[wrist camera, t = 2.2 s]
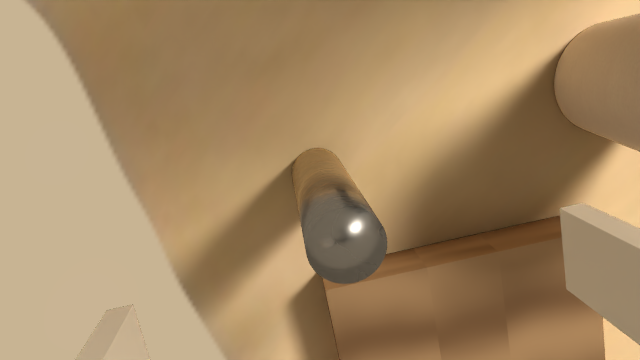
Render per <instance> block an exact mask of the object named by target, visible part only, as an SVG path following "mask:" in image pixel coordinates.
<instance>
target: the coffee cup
mask: <svg viewBox="0 0 640 360" xmlns="http://www.w3.org/2000/svg"><path fill="white" fill-rule="evenodd" d="M554 90H555V96H556V100H557V103H558V105H559V108H560V110H561V111H562V113H563V114H564V116H565V117H566V118H567V119H568V120H569V121H570V122H571V123H573V124H574V125H576V126H577V127H579V128H581V129H584V130H586V131H589V132H591V133H594V134H596V135H599V136H601V137H604V138H606V139H609V140H612V141H614V142H617V143H619V144H622V145H624V146H627V147H629V148H632V149H634V150H637V151H639V152H640V14H636V15H631V16H627V17H623V18H619V19H614V20H610V21H606V22H602V23H598V24H595V25H593V26H591V27H589V28H587V29H585V30H584V31H582V32H581V33H579V34H578V35H577V36H576V37H575V38H574V39H573V40H572V41H571V42H570V43H569V44H568V46H567V47H566V48H565V50H564V52H563V53H562V55H561V57H560V59H559V62H558V65H557V68H556V72H555V79H554Z"/></svg>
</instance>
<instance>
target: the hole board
mask: <svg viewBox="0 0 640 360" xmlns="http://www.w3.org/2000/svg"><path fill="white" fill-rule="evenodd" d="M322 279H323V284H324V289H325V293H326V298H327V303H328V307H329V312H330V317H331V322H332V326H333V331H334V336H335V340H336V345H337V350H338V354H339V359H340V360H605V348H604V332H603V317H602V316H601V315H600V314H598V313H597V312H596V311H594V310H593V309H592V308H590V307H589V306H588V305H587V304H585V303H584V302H583V301H581V300H580V299H579V298H577V297H576V296H575V295H573V294H572V293H571V292H570V291H568V290H567V289H566V279H565V267H564V256H563V244H562V233H561V221H560V216H556V217H552V218H547V219H543V220H538V221H534V222H529V223H525V224H520V225H516V226H511V227H507V228H502V229H498V230H493V231H489V232H484V233H480V234H475V235H471V236H466V237H462V238H457V239H453V240H448V241H444V242H440V243H435V244H431V245H426V246H422V247H417V248H413V249H408V250H404V251H399V252H395V253H390V254H386V255H385V257H384V259H383V262H382V263H381V265H380V266H379V268H378V269H377V270H376V271H375V272H374V273H373V274H372V275H370V276H369V277H367V278H366V279H364V280H361V281H359V282H356V283H351V284H338V283H333V282H331V281H328V280H326V279H324V278H322Z"/></svg>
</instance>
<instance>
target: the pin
mask: <svg viewBox="0 0 640 360" xmlns="http://www.w3.org/2000/svg"><path fill="white" fill-rule="evenodd" d="M292 179H293V184H294V190H295V195H296V200H297V206H298V211H299V216H300V222H301V227H302V232H303V238H304V243H305V249H306V254H307V258H308V261H309V263H310V265H311V266H312V268H313V269H314V270H315V272H316V273H317V274H318V275H320V276H321V277H322V278H324V279H326V280H328V281H331V282H333V283H338V284H351V283H356V282H359V281H361V280H364V279H366V278H367V277H369V276H370V275H372V274H373V273H374V272H375V271H376V270H377V269H378V268H379V266H380V265H381V263H382V262H383V259H384V257H385V254H386V250H387V237H386V233H385V230H384V228H383V226H382V224H381V223H380V221H379V220H378V218H377V217H376V215H375V214H374V212H373V211H372V209H371V207H370V206H369V204H368V203H367V201H366V200H365V198H364V197H363V195H362V194H361V192H360V191H359V189H358V188H357V186H356V185H355V183H354V182H353V180H352V179H351V177H350V176H349V174H348V173H347V171H346V170H345V168H344V167H343V165H342V164H341V162H340V161H339V159H338V158H337V156H336V155H335V154H333V153H332V152H330V151H329V150H326V149H323V148H313V149H309V150H307V151H305V152H303V153H302V154H301V155H299V157H298V158H297V159H296V161H295V162H294V165H293V168H292Z"/></svg>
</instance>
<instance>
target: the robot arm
mask: <svg viewBox="0 0 640 360" xmlns="http://www.w3.org/2000/svg"><path fill="white" fill-rule="evenodd" d="M559 210H560V221H561V233H562V244H563V256H564V267H565V279H566V289H567V290H568V291H570V292H571V293H572V294H573V295H575V296H576V297H577V298H579V299H580V300H581V301H583V302H584V303H585V304H587V305H588V306H589V307H590V308H592V309H593V310H594V311H596V312H597V313H598V314H600V315H601V316H602V317H604V318H605V319H606V320H607V321H609V322H610V323H611V324H613V325H614V326H615V327H617V328H618V329H619V330H621V331H622V332H623V333H624V334H626V335H627V336H628V337H630V338H631V339H632V340H634V341H635V342H636V343H638V344H639V345H640V228H638V227H636V226H633V225H631V224H629V223H627V222H625V221H622V220H620V219H618V218H616V217H614V216H611V215H609V214H607V213H605V212H602V211H600V210H598V209H596V208H594V207H591V206H589V205H587V204H585V203H580V204H575V205H571V206H566V207H562V208H559ZM76 360H150V357H149V354H148V351H147V348H146V345H145V342H144V338H143V335H142V332H141V329H140V326H139V322H138V319H137V316H136V313H135V310H134V306H133V304H132V305H128V306H123V307H119V308H115V309H110V310H107V311H106V312H105V314H104V316H103V317H102V319H101V320H100V322H99V323H98V325H97V326H96V328H95V330H94V331H93V333H92V334H91V336H90V337H89V339H88V341H87V342H86V344H85V345H84V347H83V349H82V350H81V352H80V353H79V355H78V356H77V358H76Z"/></svg>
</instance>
